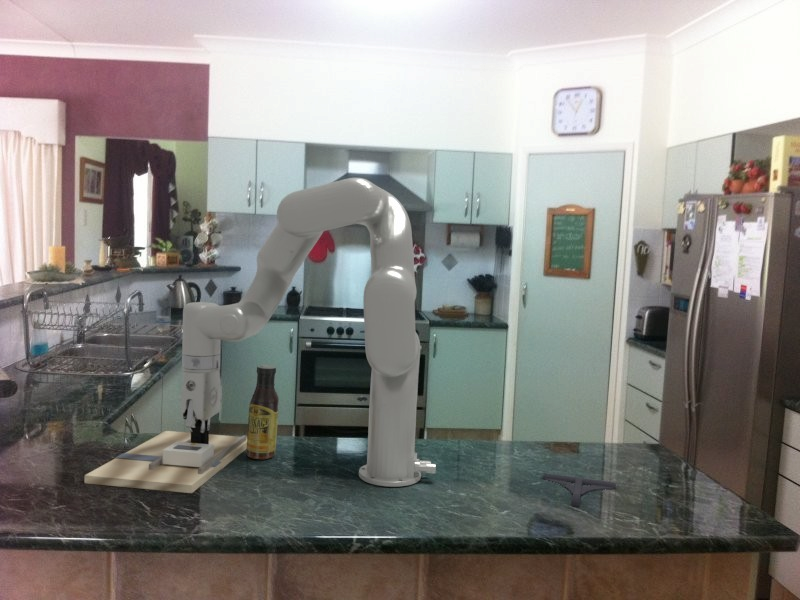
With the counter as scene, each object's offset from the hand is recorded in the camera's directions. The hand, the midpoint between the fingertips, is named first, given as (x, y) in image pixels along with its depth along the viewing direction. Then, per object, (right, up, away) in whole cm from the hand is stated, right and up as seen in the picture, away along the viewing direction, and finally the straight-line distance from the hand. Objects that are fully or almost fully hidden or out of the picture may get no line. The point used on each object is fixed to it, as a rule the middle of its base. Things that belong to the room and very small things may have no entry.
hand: (199, 449), depth 139 cm
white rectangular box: (-1, -1, -5) cm, 5 cm away
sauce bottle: (+12, -3, +6) cm, 14 cm away
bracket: (+76, -8, -8) cm, 77 cm away
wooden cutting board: (-5, -3, 0) cm, 5 cm away
